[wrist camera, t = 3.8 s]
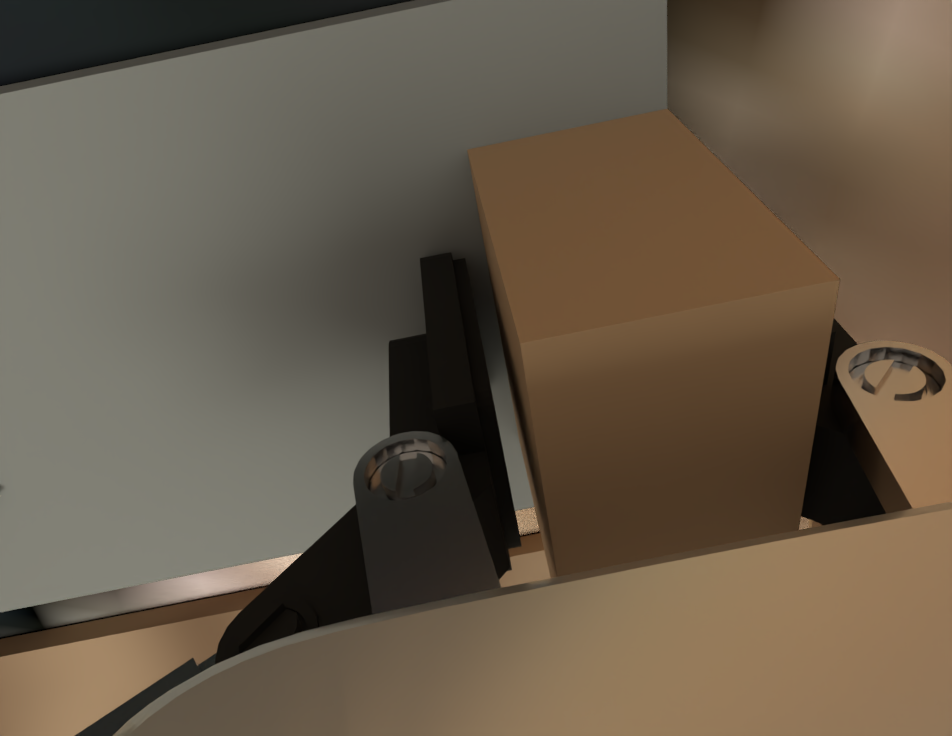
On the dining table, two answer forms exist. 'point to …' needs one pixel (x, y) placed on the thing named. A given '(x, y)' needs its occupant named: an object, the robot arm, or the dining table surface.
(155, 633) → the strip empty
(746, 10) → the dining table surface
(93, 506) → the strip
